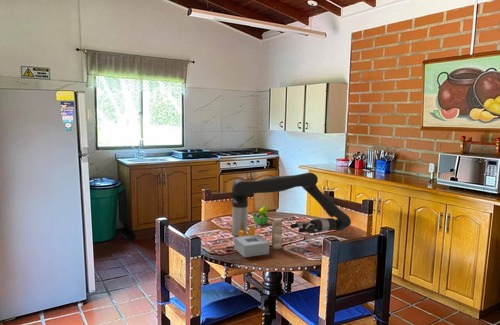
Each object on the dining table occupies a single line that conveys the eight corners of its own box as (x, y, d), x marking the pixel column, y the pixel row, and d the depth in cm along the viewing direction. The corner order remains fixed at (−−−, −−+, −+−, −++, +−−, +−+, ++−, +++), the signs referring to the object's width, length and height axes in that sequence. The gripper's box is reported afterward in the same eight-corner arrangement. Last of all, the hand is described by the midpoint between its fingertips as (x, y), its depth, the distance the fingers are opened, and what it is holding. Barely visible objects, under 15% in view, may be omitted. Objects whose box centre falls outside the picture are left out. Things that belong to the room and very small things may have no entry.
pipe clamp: (244, 243, 201) (244, 232, 200) (238, 241, 203) (238, 230, 202) (257, 238, 210) (257, 227, 209) (251, 236, 213) (251, 226, 212)
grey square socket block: (234, 248, 192) (234, 237, 192) (257, 245, 198) (258, 234, 197) (244, 257, 180) (244, 245, 179) (269, 253, 185) (269, 242, 185)
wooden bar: (271, 247, 195) (272, 218, 193) (278, 246, 197) (279, 217, 195) (274, 249, 193) (275, 220, 191) (281, 248, 194) (282, 219, 193)
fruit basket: (251, 221, 246) (251, 205, 245) (262, 220, 250) (263, 204, 248) (258, 225, 236) (259, 208, 234) (270, 224, 239) (271, 207, 238)
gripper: (312, 216, 211) (288, 218, 204) (327, 222, 198) (301, 225, 191) (312, 228, 212) (288, 231, 205) (326, 235, 199) (301, 238, 192)
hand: (294, 228), depth 198 cm, fingers open, 8 cm apart
